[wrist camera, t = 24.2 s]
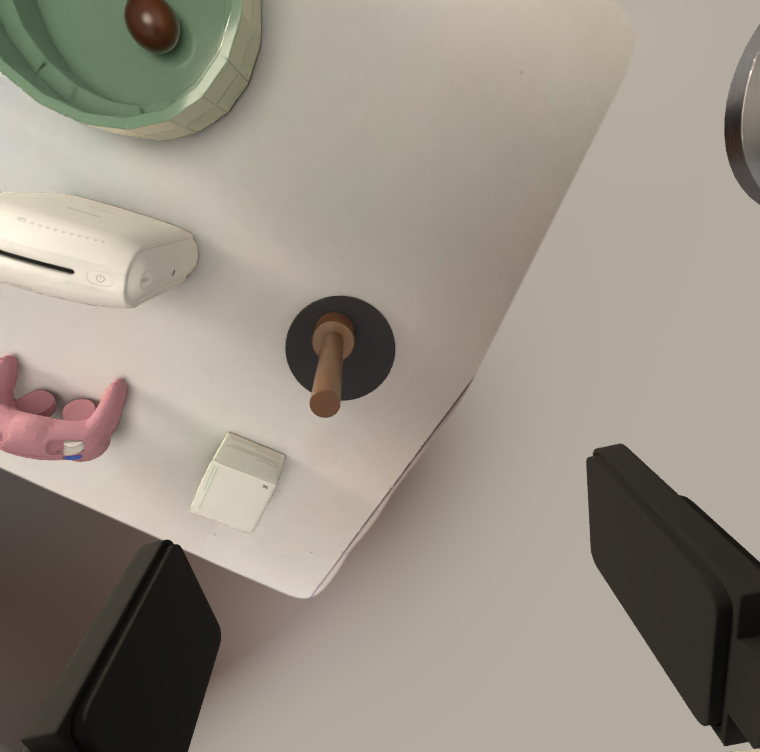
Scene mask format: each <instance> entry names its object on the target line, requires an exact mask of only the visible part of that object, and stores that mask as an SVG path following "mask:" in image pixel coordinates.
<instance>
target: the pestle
mask: <svg viewBox="0 0 760 752" xmlns="http://www.w3.org/2000/svg"><path fill="white" fill-rule="evenodd" d="M312 347H313V349H314V351H315V353H316V354H317V355H318V356H319V359H318V364H317V369H316V374H315V379H314V383H313V388H312V393H311V398H310V408H311V410H312V412H313V413H314V414H316V415H317V416H319V417H324V418H327V417H331V416H333V415H335V414H336V413H337V412H338V410H339V408H340V400H341V382H342V365H343V360H344V359H345V358H347V357H348V356H349V355H350V354H351V352H352V350H353V348H354V327H353V324H352V322H351V320H350V319H349V318H348V317H347V316H345V315H343V314H341V313H337V312H331V313H327V314H325V315H323V316H322V317H320V318H319V320H318V321H317V323H316V325H315V328H314V332H313V335H312Z"/></svg>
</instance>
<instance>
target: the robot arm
mask: <svg viewBox="0 0 760 752" xmlns="http://www.w3.org/2000/svg"><path fill="white" fill-rule="evenodd" d="M586 465H587V466H586V467H587V486H588V503H589V504H588V505H589V524H590V543H591V553H592V557H593V560H594V562H595V564H596V566H597V568H598V569H599V571H600V572H601V574H602V575H603V577H604V579H605V580H606V582H607V583H608V585H609V586H610V588H611V589H612V591H613V592H614V594H615V596H616V597H617V599H618V600H619V602H620V603H621V605H622V606H623V608H624V609H625V611H626V612H627V614H628V615H629V617H630V618H631V620H632V621H633V623H634V625H635V626H636V627H637V629H638V631H639V632H640V634H641V635H642V637H643V638H644V640H645V641H646V643H647V645H648V646H649V647H650V649H651V651H652V652H653V654H654V655H655V657H656V658H657V660H658V661H659V663H660V664H661V666H662V667H663V669H664V671H665V672H666V674H667V675H668V677H669V678H670V680H671V681H672V683H673V684H674V686H675V687H676V689H677V691H678V692H679V693H680V695H681V697H682V698H683V700H684V701H685V703H686V704H687V706H688V707H689V709H690V710H691V712H692V713H693V715H694V716H695V718H696V719H697V720H698V722H699V723H700V724H702V725H703V726H708V725H711V727H712V728H713V730H714V731H715V733H716V734H717V736H718V737H719V739H720V740H721V741H722V743H723V744H724V746H729V745H734V744H740V743H745V742H749V743H750V744H751V746H752V747H753V749H751V750H741V751H732V752H760V562H759V561H758V560H757V559H756V558H754V556H752V555H751V554H750V553H749V552H748V551H747V550H746V549H745V548H743V547H742V546H741V545H740V544H739V543H738V542H737V541H736V540H735V539H734V538H732V537H731V536H730V535H729V534H728V533H727V532H726V531H725V530H724V529H723V528H721V527H720V526H719V525H718V524H717V523H716V522H715V521H714V520H713V519H711V518H710V517H709V516H708V515H707V514H706V513H705V512H704V511H703V510H701V509H700V508H699V507H698V506H697V505H696V504H695V503H694V502H692V501H691V500H690V499H688V498H687V497H684V496H681V495H678V494H677V493H676V492H675V491H674V490H673V489H672V488H671V487H670V486H669V485H667V484H666V483H665V482H664V481H663V480H662V479H661V478H660V477H659V476H658V475H657V474H656V473H654V472H653V471H652V470H651V469H650V468H649V467H648V466H647V465H646V464H645V463H644V462H643V461H641V460H640V459H639V458H638V457H637V456H636V455H635V454H634V453H633V452H632V451H631V450H629V449H628V448H627V447H626V446H625V445H623V444H617V445H611V446H607V447H602V448H597V449H595V450H594V452H593V456H592V457H588V458H587V461H586ZM220 642H221V630H220V626H219V624H218V622H217V620H216V618H215V616H214V614H213V611H212V609H211V607H210V605H209V603H208V601H207V599H206V597H205V595H204V593H203V591H202V589H201V587H200V585H199V583H198V581H197V578H196V576H195V574H194V572H193V570H192V568H191V566H190V564H189V562H188V560H187V558H186V556H185V554H184V552H183V550H182V548H181V546H180V545H178V544H175V545H174V544H173V542H172V541H170V540H163V541H158V542H153V543H149V544H144V545H142V546H140V548H139V549H138V550H137V552H136V553H135V555H134V557H133V559H132V560H131V562H130V563H129V565H128V567H127V568H126V570H125V571H124V573H123V575H122V576H121V578H120V580H119V581H118V583H117V584H116V586H115V588H114V589H113V591H112V593H111V594H110V596H109V598H108V599H107V601H106V602H105V604H104V606H103V607H102V609H101V610H100V612H99V614H98V615H97V617H96V619H95V620H94V622H93V623H92V625H91V627H90V628H89V630H88V632H87V633H86V635H85V636H84V638H83V640H82V641H81V643H80V645H79V646H78V648H77V650H76V651H75V653H74V655H73V656H72V658H71V659H70V661H69V663H68V664H67V666H66V667H65V669H64V671H63V673H62V674H61V676H60V677H59V679H58V681H57V682H56V684H55V685H54V687H53V689H52V690H51V692H50V694H49V695H48V697H47V699H46V700H45V702H44V703H43V705H42V707H41V708H40V710H39V711H38V713H37V715H36V716H35V718H34V719H33V721H32V723H31V724H30V726H29V728H28V729H27V731H26V732H25V734H24V736H23V737H22V739H21V741H22V742H23V744H24V745H25V747H24V748H23V750H22V752H188V749H189V746H190V743H191V739H192V736H193V733H194V729H195V726H196V722H197V719H198V716H199V713H200V709H201V706H202V703H203V699H204V696H205V693H206V689H207V686H208V683H209V679H210V676H211V673H212V669H213V666H214V662H215V659H216V656H217V652H218V649H219V646H220Z"/></svg>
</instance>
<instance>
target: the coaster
mask: <svg viewBox="0 0 760 752" xmlns="http://www.w3.org/2000/svg"><path fill="white" fill-rule="evenodd" d="M331 312H337V313H341V314H343V315H345V316H347V317H348V318H349V319H350V320H351V322H352V324H353V327H354V348H353V350H352V352H351V354H350V355H349V356H348V357H347V358H345V359H344V360H343V365H342V382H341V400H340V401H344V400H352V399H356V398H360V397H362V396H365V395H367V394H368V393H370V392H372V391H373V390H375V389H376V388H377V387H378V386H379V385H380V384H381V383H382V382H383V381H384V380H385V379H386V377H387V376H388V374H389V372H390V370H391V368H392V365H393V362H394V356H395V342H394V337H393V333H392V331H391V328H390V326H389V324H388V322H387V321H386V319H385V318H384V317H383V315H382V314H381V313H380V312H379V311H378V310H377V309H375V308H374V307H373V306H371V305H370V304H368V303H366V302H364V301H362V300H359V299H357V298H353V297H347V296H332V297H326V298H323V299H320V300H318V301H315V302H313V303H312V304H310V305H308V306H307V307H306V308H304V309H303V310H302V311H301V312H300V313H299V314H298V315H297V317H296V318H295V319H294V321H293V323H292V325H291V327H290V329H289V331H288V334H287V339H286V357H287V362H288V365H289V367H290V370H291V371H292V373H293V375H294V376H295V378H296V379H297V381H298V382H299V383H300V384H301V385H302V386H303V387H305V388H306V389H307V390H309V391H310V392H312V388H313V383H314V379H315V374H316V369H317V364H318V359H319V356H318V355H317V354H316V353H315V351H314V349H313V347H312V335H313V332H314V328H315V325H316V323H317V321H318V320H319V318H320V317H322V316H323V315H325V314H327V313H331Z"/></svg>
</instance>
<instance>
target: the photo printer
mask: <svg viewBox="0 0 760 752" xmlns="http://www.w3.org/2000/svg"><path fill="white" fill-rule="evenodd" d="M193 237H194V236H193V235H192V234H191V233H189V232H187V231H185V230H183V229H181V228H178V227H176V226H173V225H171V224H168V223H165V222H162V221H159V220H156V219H153V218H150V217H147V216H144V215H141V214H138V213H135V212H131V211H128V210H125V209H121V208H118V207H115V206H111V205H108V204H104V203H101V202H97V201H93V200H90V199H86V198H82V197H78V196H73V195H68V194H57V193H0V282H2V283H5V284H8V285H11V286H15V287H18V288H21V289H25V290H28V291H32V292H35V293H39V294H43V295H47V296H51V297H55V298H59V299H63V300H68V301H72V302H78V303H82V304H87V305H93V306H103V307H113V308H133V307H136V306H138V305H140V304H142V303H144V302H145V301H147V300H149V299H151V298H153V297H155V296H157V295H159V294H161V293H163V292H165V291H166V290H168V289H170V288H172V287H174V286H176V285H178V284H180V283H182V282H184V281H185V280H186V276H187V275H188V274H189V273H190V272H191V271H192V270H193V269H194V268H195V266H196V264H197V261H198V249H197V246H196V243H195V241H194V240H193Z"/></svg>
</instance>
